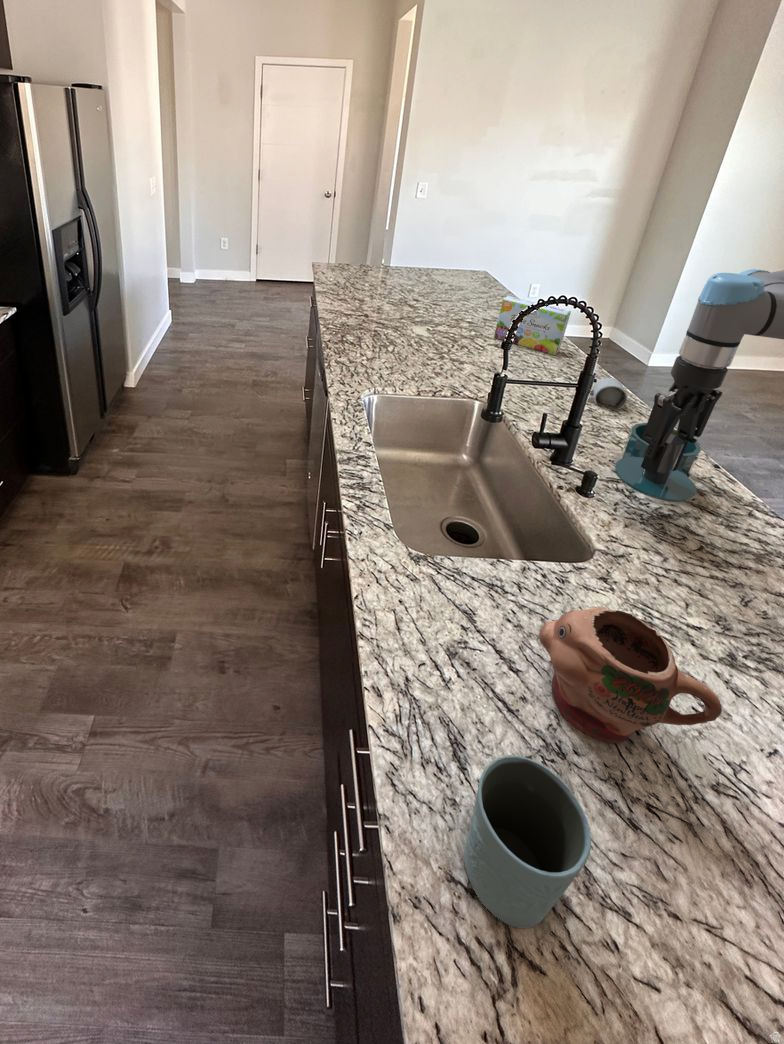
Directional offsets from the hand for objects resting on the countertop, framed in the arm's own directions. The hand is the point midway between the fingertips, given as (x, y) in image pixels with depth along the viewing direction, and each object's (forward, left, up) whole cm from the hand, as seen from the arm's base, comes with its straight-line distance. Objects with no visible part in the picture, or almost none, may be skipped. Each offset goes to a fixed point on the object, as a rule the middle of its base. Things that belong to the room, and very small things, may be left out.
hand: (658, 468), depth 105 cm
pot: (+9, -13, -11) cm, 19 cm away
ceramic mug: (+39, -29, -11) cm, 50 cm away
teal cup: (-42, +64, -11) cm, 78 cm away
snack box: (+80, -37, -11) cm, 89 cm away
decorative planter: (-31, +40, -11) cm, 52 cm away
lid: (0, 0, -3) cm, 3 cm away
